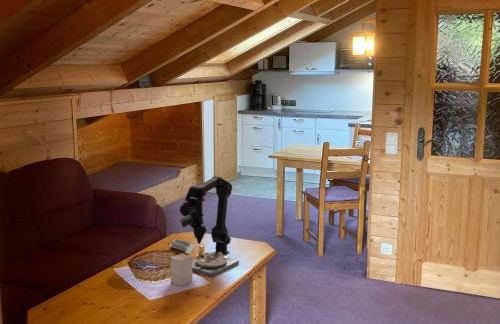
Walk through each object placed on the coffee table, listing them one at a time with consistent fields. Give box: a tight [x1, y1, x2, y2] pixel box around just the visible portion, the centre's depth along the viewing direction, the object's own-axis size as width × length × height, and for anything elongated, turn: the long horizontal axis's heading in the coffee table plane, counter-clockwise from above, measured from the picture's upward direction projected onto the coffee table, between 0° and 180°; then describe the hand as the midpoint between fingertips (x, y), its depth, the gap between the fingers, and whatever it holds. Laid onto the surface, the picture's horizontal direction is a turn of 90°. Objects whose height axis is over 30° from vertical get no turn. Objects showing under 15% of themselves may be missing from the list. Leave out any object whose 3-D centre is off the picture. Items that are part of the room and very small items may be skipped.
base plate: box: [192, 256, 240, 278], centre depth 273 cm, size 22×19×2 cm
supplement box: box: [170, 253, 193, 287], centre depth 251 cm, size 7×7×13 cm
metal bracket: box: [168, 237, 197, 255], centre depth 297 cm, size 14×6×15 cm
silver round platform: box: [195, 244, 228, 268], centre depth 272 cm, size 16×16×7 cm
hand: (197, 240), depth 271 cm, fingers open, 9 cm apart
